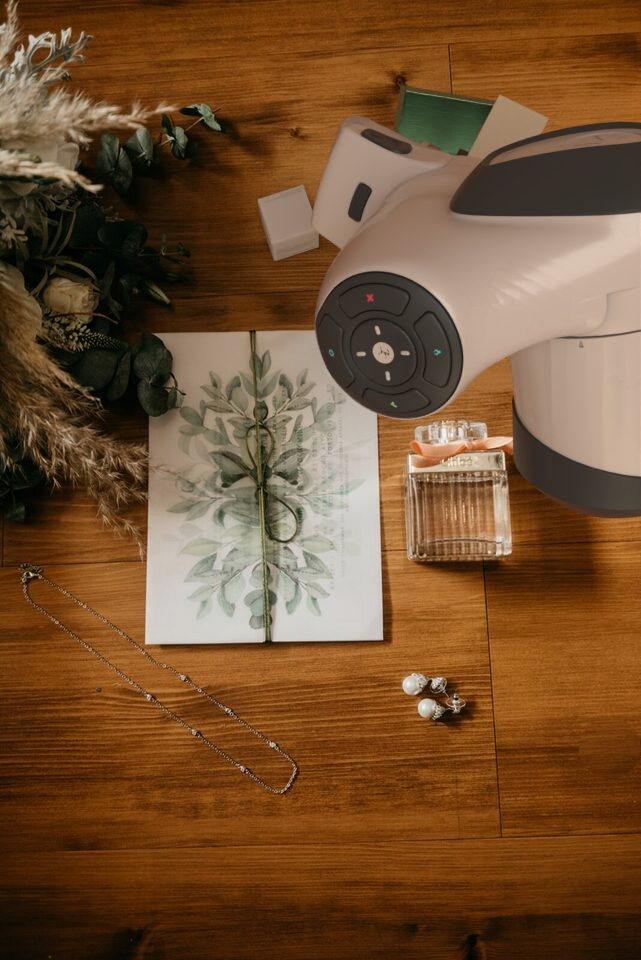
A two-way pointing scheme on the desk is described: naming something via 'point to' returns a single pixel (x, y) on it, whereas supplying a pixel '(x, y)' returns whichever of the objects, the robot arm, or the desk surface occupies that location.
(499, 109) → the packet
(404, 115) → the bin
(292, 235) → the small box
